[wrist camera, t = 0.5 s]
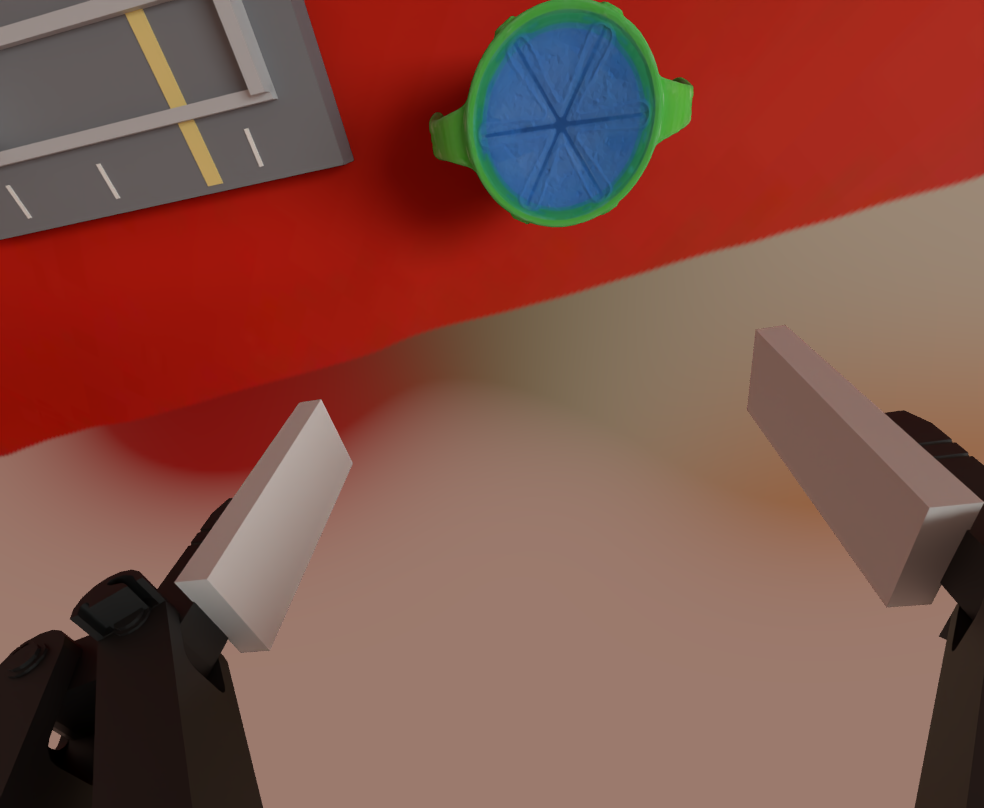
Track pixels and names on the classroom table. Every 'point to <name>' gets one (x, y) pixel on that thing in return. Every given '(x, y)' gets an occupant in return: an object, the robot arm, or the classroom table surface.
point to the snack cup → (563, 113)
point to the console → (155, 104)
